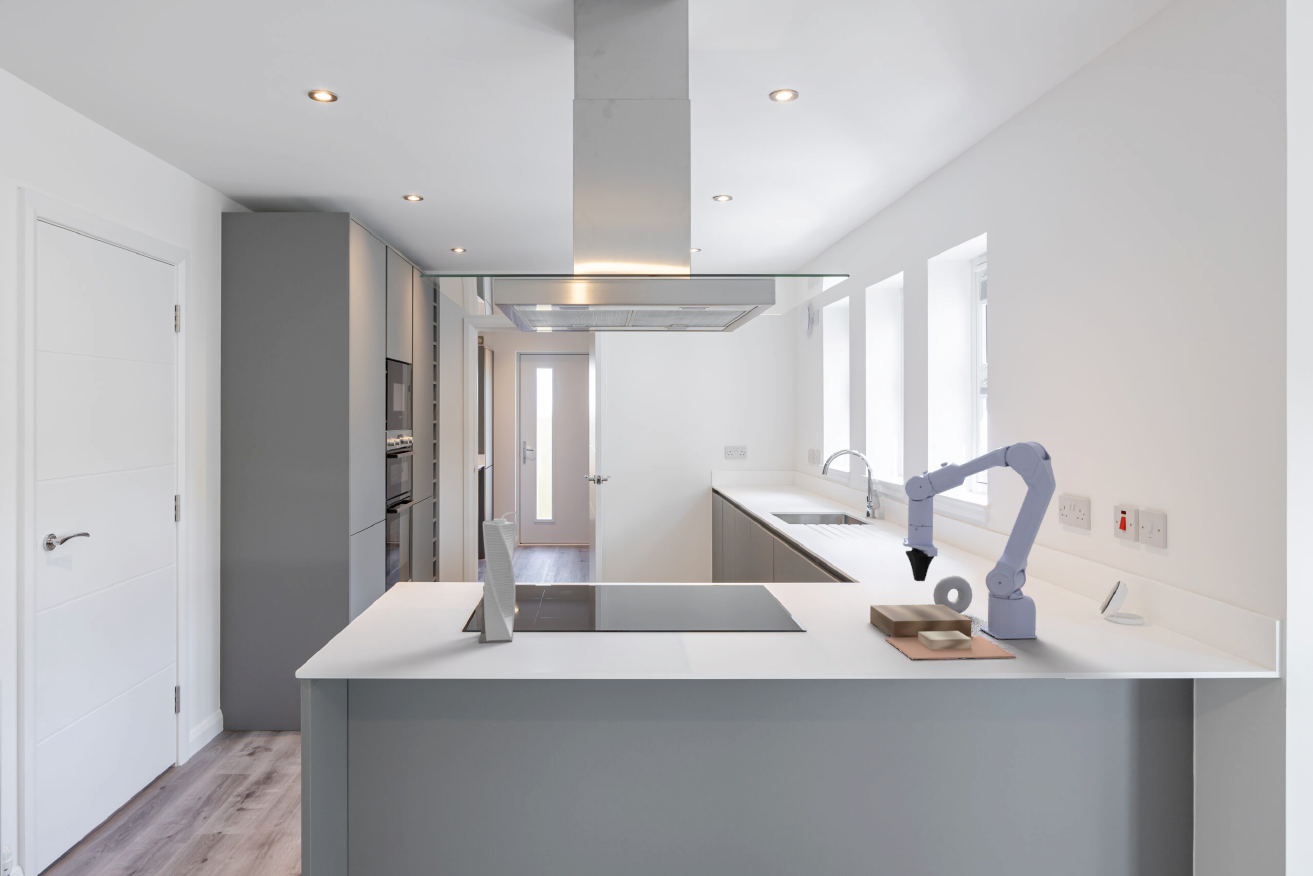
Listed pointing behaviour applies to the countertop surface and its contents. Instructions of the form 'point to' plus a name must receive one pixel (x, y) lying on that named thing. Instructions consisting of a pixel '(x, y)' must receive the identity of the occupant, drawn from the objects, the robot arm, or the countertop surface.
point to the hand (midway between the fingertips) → (919, 580)
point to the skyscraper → (498, 581)
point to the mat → (977, 650)
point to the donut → (949, 584)
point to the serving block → (918, 619)
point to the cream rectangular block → (944, 640)
